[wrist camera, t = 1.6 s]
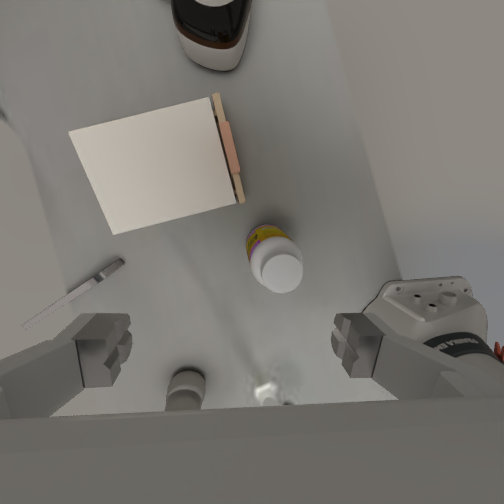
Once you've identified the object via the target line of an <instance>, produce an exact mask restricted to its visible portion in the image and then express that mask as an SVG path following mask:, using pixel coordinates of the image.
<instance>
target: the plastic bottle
mask: <svg viewBox="0 0 504 504" xmlns="http://www.w3.org/2000/svg"><path fill="white" fill-rule="evenodd" d="M205 390H206V389H205V381H204V379H203V377H202V376H201V375H200V374H199V373H197V372H195V371H190V370H187V371H183V372H180V373H179V374H177V375H176V376H174V377H173V378H172V380H171V382H170V384H169V386H168V389H167V395H166V407H165V411H182V410H200V409H201V405H202V402H203V399H204V396H205Z"/></svg>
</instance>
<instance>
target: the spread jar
mask: <svg viewBox="0 0 504 504" xmlns="http://www.w3.org/2000/svg"><path fill="white" fill-rule="evenodd" d="M251 4H252V0H171V6H172V13H173V19H174V23H175V27H176V30H177V34H178V37H179V39H180V42H181V45H182V47H183V50H184V51H185V53H186V55H187V56H188V57H189V58H190V59H192V60H193V61H195V62H196V63H198V64H200V65H202V66H204V67H207V68H210V69H213V70H220V71H227V70H231V69H233V68H235V67H236V66H237V64H238V63H239V61H240V59H241V56H242V54H243V51H244V47H245V44H246V39H247V34H248V29H249V21H250V13H251Z"/></svg>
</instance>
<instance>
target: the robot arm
mask: <svg viewBox="0 0 504 504" xmlns="http://www.w3.org/2000/svg"><path fill="white" fill-rule="evenodd" d="M397 287H398V288H397ZM130 324H131V322H130V316H129V315H128V314H127V313H83V314H81V315H79V316H78V317H77V318H76V319H75V320H74V321H73V322H72V323H71V324H70V325H69V326H67V327H66V328H65V329H64V330H63V331H62V332H61V333H59V334H58V335H57V336H56V337H55V338H54V339H53V340H49V341H44V342H42V343H39V344H37V345H35V346H33V347H30V348H28V349H25V350H23V351H21V352H18V353H16V354H14V355H11V356H9V357H6V358H4V359H2V360H0V504H504V346H503V347H502V350H501V351H500V346H499V343H498V342H495V348H494V353H493V351H492V350H491V349H490V348H489V346H488V345H487V344H486V340H487V328H488V324H487V315H486V313H485V310H484V308H483V306H482V305H481V304H480V303H479V302H478V301H476V300H475V299H474V298H473V295H472V291H471V287H470V285H469V283H468V282H467V280H466V279H465V278H463V277H461V276H451V277H439V278H427V279H414V280H402V281H391V282H388V283H386V284H385V285H384V286H383V288H382V290H381V291H380V293H379V295H378V297H377V298H376V299H375V300H374V301H373V302H372V303H371V304H370V305H369V306H368V307H367V308H366V309H365V310H364V312H363V313H340V314H336V316H335V319H334V324H335V326H336V328H335V329H334V330H333V331H332V336H331V344H332V348H333V351H334V353H335V354H336V356H337V357H339V358H341V359H342V366H343V367H344V369H345V370H346V372H347V373H348V375H349V376H350V378H372V379H373V380H374V381H376V382H377V383H378V384H380V385H381V386H382V387H383V388H385V389H386V390H387V391H389V392H390V393H391V394H393V395H394V396H395V397H397V398H398V399H399V400H385V401H365V402H344V403H324V404H303V405H283V406H264V407H243V408H223V409H202V410H182V411H161V412H141V413H120V414H100V415H80V416H59V417H49V416H51V415H52V414H53V413H54V412H56V411H57V410H58V409H59V408H61V407H62V406H63V405H65V404H66V403H67V402H69V401H70V400H71V399H72V398H74V397H75V396H76V395H77V394H79V393H80V392H81V391H83V390H84V388H95V387H111V386H112V385H113V384H114V382H115V380H116V378H117V377H118V375H119V373H120V371H121V367H120V365H121V364H122V363H124V362H125V361H127V359H128V357H129V355H130V351H131V348H132V334H131V333H130V332H129V331H128V330H127V329H128V327H129V326H130Z"/></svg>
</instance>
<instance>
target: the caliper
mask: <svg viewBox="0 0 504 504" xmlns="http://www.w3.org/2000/svg"><path fill="white" fill-rule="evenodd" d="M123 264H124V263H123V262H122V261H121V260H120V259H119V260H117V261H116V262H114V263H113V264H111V265H110V266H108V267H107V268H105V269H104V270H103V271H101V272H100V273H98V274H97V275H95V276H94V277H92V278H91V279H89V280H88V281H86V282H85V283H83V284H82V285H80V286H79V287H78V288H76V289H75V290H73V291H72V292H70V293H69V294H67V295H66V296H64V297H63V298H61V299H60V300H58V301H57V302H55V303H54V304H52V305H51V306H49V307H48V308H46V309H45V310H43V311H42V312H40V313H39V314H37V315H36V316H34V317H33V318H32V319H30V320H28V321H27V322H26V323H24V324H23V325H21V326H22V327H23V328H24V329H28V328H30V327H31V326H33V325H34V324H36V323H37V322H39V321H40V320H42V319H43V318H45V317H46V316H48V315H49V314H51V313H53V312H54V311H56V310H57V309H59V308H60V307H62V306H63V305H65V304H66V303H68V302H69V301H71V300H72V299H74V298H76V297H77V296H79V295H80V294H82V293H83V292H85V291H86V290H88V289H89V288H92V287H93V286H94V285H96V284H98V283H99V282H100V281H102V280H103V279H105V278H106V277H107V276H109V275H110V274H111V273H113V272H114V271H115V270H117V269H118V268H119V267H121V266H122V265H123Z"/></svg>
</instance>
